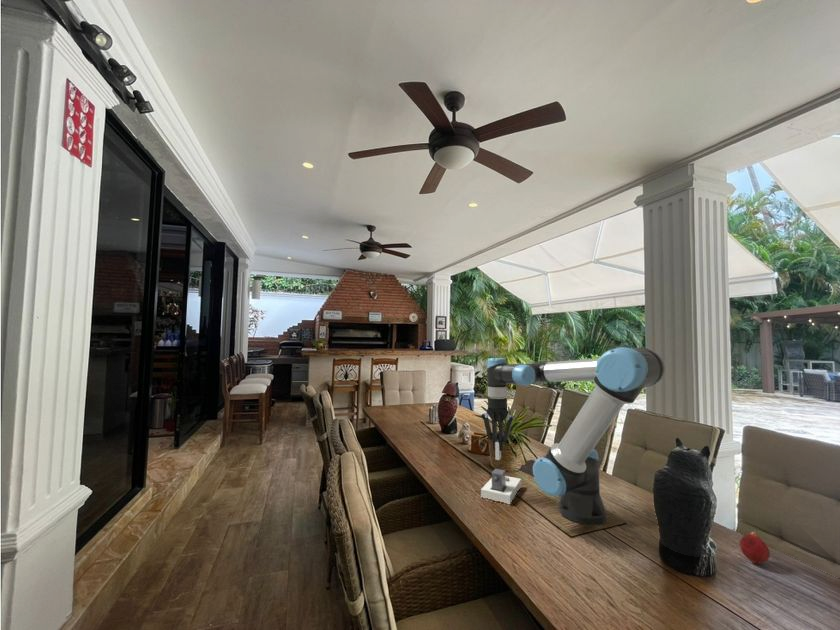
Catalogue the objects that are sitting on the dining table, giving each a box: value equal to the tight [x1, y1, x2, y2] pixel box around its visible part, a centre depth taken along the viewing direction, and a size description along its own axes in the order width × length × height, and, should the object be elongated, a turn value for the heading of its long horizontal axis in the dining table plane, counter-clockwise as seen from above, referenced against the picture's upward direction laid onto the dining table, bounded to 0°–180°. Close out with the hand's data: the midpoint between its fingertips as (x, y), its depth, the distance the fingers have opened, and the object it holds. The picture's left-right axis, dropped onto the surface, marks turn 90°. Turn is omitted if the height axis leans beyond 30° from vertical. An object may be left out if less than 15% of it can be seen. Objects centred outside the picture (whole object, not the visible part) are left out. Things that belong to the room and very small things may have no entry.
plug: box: [491, 468, 506, 492], centre depth 133 cm, size 4×7×9 cm, turn 152°
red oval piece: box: [739, 531, 771, 565], centre depth 94 cm, size 6×6×8 cm
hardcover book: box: [518, 459, 536, 477], centre depth 158 cm, size 16×23×2 cm
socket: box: [480, 475, 522, 504], centre depth 137 cm, size 11×18×4 cm, turn 151°
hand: (498, 458), depth 135 cm, fingers closed
